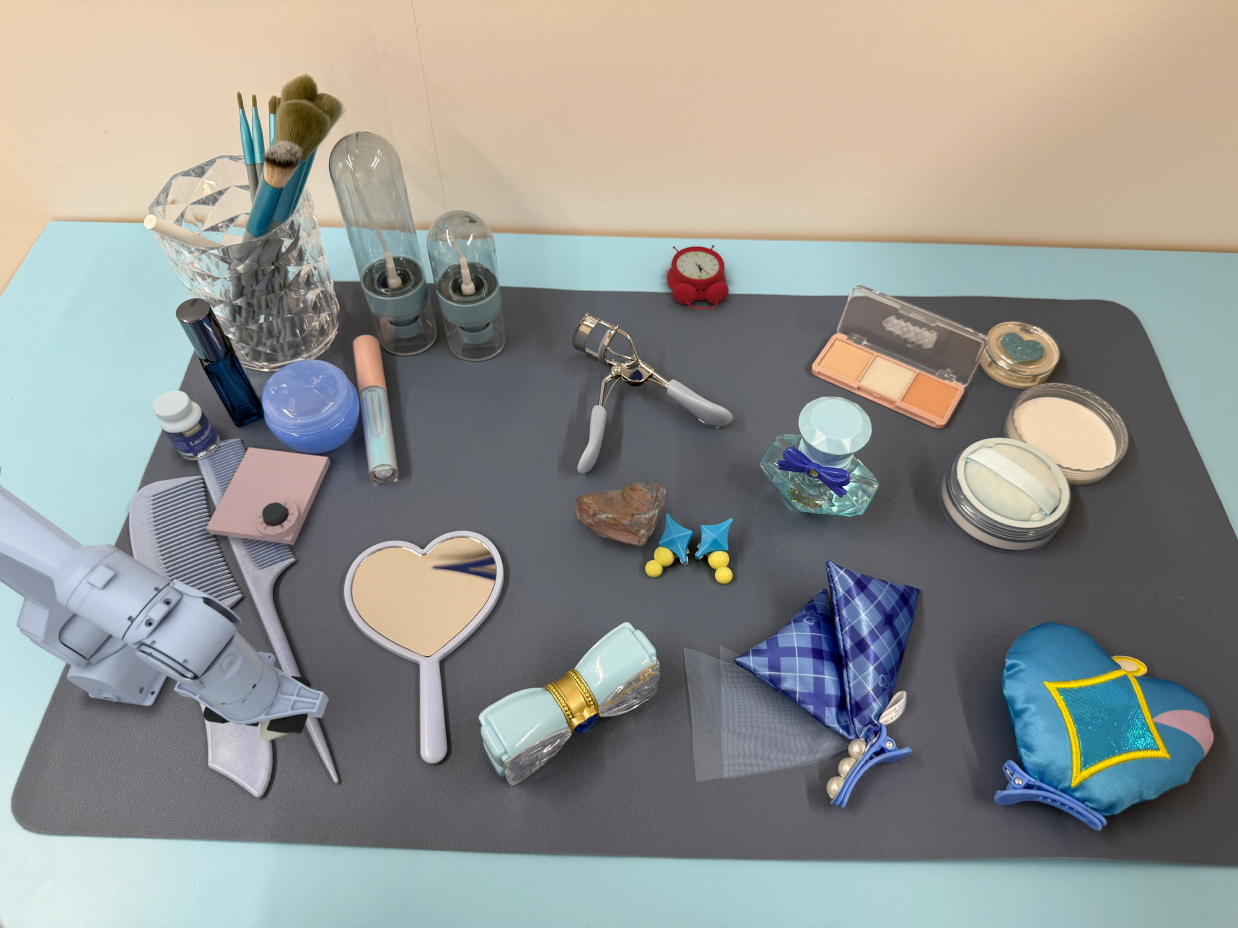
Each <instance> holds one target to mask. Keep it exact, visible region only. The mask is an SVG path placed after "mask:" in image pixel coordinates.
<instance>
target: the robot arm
mask: <svg viewBox="0 0 1238 928" xmlns="http://www.w3.org/2000/svg"><path fill="white" fill-rule="evenodd" d="M1 471H2V467H1V466H0V474H1ZM0 582H1V583H2V584H4V585H5V586H6V587H8V588H9V589H10V590H12V591H13V592H15V593H17V594H18V595H20V596H21V597H22V598H23V601H22V605H21V608H20V611H19V614H18V617H17V621H16V627H17V628H18V629H19V633H21V634H22V635H23V636H25V637H27V638H28V639H30V642H32V644H34V645H36V646H37V647H38V648H40V649H42V650H44V651H45V652H47V653H49V654H50V655H52V656H53V657H56V658H57V659H59V660H60V661H62V662H65V663H66V664H68V665H70V668H69V670H68V672H67V674H66V679H67V680H68V681H69V682H70V683H71V684H73V685H75V686H76V687H78V688H80V689H81V690H83V691H84V692H86V693H88V696H89V697H90V698H92V699H97V700H98V699H99V700H103V701H104V700H105V701H110V702H114V703H115V702H116V703H117V702H118V703H123V704H129V705H130V704H131V705H137V706H145V707H151V706H152V705H154V703H155V701H156V699H157V698H158V696H159V694H160V692H161V689H162V687H163V685H164V683H165V681H166V680H167V678H168V677H169V678H170V679H172V680H174V681H177V682H176V684H175V686H174V688H173V691H175V692H176V693H177V694H178V695H180V696H181V697H183V698H190V699H191V698H193V699H194V700H195V701H197V702H199V703H201V704H202V705H203V706H205V707H204V709H203V713H202V716H203V719H204V720H205V721H207V722H209V723H210V722H211V723H216V724H221V725H222V724H223V725H224V724H227V723H232V724H235V725H244V726H249V727H255V728H258V727H259V725H260V724H261V722H262V721H267V720H270V722H269V724H268V727H267V730H268V731H273V732H279V733H289V734H292V733H293V734H303V731H304V728H305V725H306V724H307V720H308V719H309V718H308V717H309V714H310V715H311V716H312V717H313V718H319V719H322V718H323V716H324V713H325V710H326V709H327V705H328V702H329V700H330V698H329V697H328V695H326V693H325V692H324V691H321V690H317V689H314V688H311V684H312V683H311V681H310V680H309V679H308V678H306V677H303V676H295V675H291V676H290V675H289V674H287V673H285V672H283V671H282V670H281V669H279V668H277V667H275V662H276V659H277V658H276V656H275V655H274V654H273V653H271V652H265V651H256V649H255V648H254V647H253V646H252V645H251V644H250V643H249V642H248V641H247V640H246V638H244V636H242V635H241V634H240V632H238V628H237V626H236V625H241V624H242V623H243V621H242V619H241V618H240V617H239V616H238V615H237V613H236V612H234V611H233V610H232V609H231V608H230V607H228V605H226V604H225V603H224V602H222V601H221V600H219V599H217V598H216V597H214V596H212V595H211V594H209V593H206V592H205V591H202V590H200V589H197V588H195V587H193V586H190V585H188V584H186V583H184V582H183V581H181V580H178V579H176V578H174V579H173V580H171V579H169V578H167V577H165V576H163V574H160V573H159V572H158V571H156V570H154V569H153V568H151V567H149V566H147V565H146V564H144V563H142V562H141V561H139V560H138V559H136V558H134V557H133V556H131V555H129V554H128V553H127V552H124V551H123V550H121V549H119V548H118V547H117V546H115V545H113V544H105V543H104V544H94V545H93V544H92V545H84V544H82V543H81V542H80V541H78V540H76V539H75V538H74V537H72V536H71V535H70V534H68V533H67V532H65V531H64V530H63V529H61V528H60V527H59V526H57V525H56V524H55V523H53V521H51V520H50V519H48V518H47V517H46V516H43V514H41V513H40V512H38V511H37V510H36V509H34V508H33V507H31V506H30V505H29V504H28V503H26V502H25V501H23V500H22V499H20V498H19V497H18V496H17V495H15V494H14V493H12V492H11V491H10V490H8V489H7V488H6V487H4V486H3V485H2V484H0ZM234 624H235V625H234Z"/></svg>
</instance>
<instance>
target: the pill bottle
mask: <svg viewBox="0 0 1238 928" xmlns="http://www.w3.org/2000/svg"><path fill="white" fill-rule="evenodd" d="M152 411H153V412H154V414H155V416H156V418H157V422H158V425H159V427H160V429H161V430H162V431H163V433H164V434H165V436H166V437H167V438H168V440H169V441H170V442H171V444H172V445H173V447H174V448H175V449H176V451H177V452H178V454H179V455H180V456H181V457H182V458H184V459H186V460H188V461H200V460H204V459H206V458H209V457H210V456H212V455H213V454H214V453H215V452H216V451H217V450H218V448H219V445H220V435H219V434H218V433H217V431H216V430H215V428H214V426H213V425H212V423H211V421H210V420H209V418H208V417H207V416H206V414H205V412H204V411H203V409H202V408H201V406H200V405H199V404H198V403H196V402H195V401H193V400H191V398H190V397H189V395H188V394H187V393H186V392H184V391H182V390H170V391H165V392H163V393H161V394H160V395H158V396H157V397H156V398H155V400H154V401H153V404H152ZM214 445H216V446H215V447H214V448H213V449H212V450H211V451H210V452H209V453H207V454H205V455H203V456H200V457H201V459H200V458H199V457H197V456H198V454H200V453H201V452H204V451H208V450H209V449H210V448H211V447H212V446H214ZM202 457H203V458H204V459H203V458H202Z"/></svg>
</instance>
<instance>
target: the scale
mask: <svg viewBox="0 0 1238 928" xmlns="http://www.w3.org/2000/svg"><path fill="white" fill-rule="evenodd" d="M330 465H331V461H330V458H329V457H328V456H323V455H322V456H321V455H314V454H307V453H297V452H291V451H290V452H288V451H282V450H273V449H265V448H258V447H250V446H249V447H248V448H247V450H246V452H245V454H244V456H243V458H242V460H241V462H240V463H239V465H238V467H237V469H236V470H235V473H234V475H233V476H232V479H230V482H229V484H228V486H227V487H226V490H225V491H224V493H223V495H222V497H221V499H220V501H219V503H218V505H217V507H216V508H215V511H214V512H213V514H212V516H211V518H210V519H209V521H208V523H207V526H206V527H205V530H206V531H207V532H208V533H209V534H211V535H215V536H216V535H217V536H225V537H231V538H239V539H240V538H241V539H246V540H247V539H248V540H255V541H261V542H269V543H277V544H284V545H291V546H293V545H295V543H296V541H297V538H298V536H299V534H300V532H301V529H302V527H303V526H304V523H305V521H306V519H307V516H308V514H309V512H310V509H311V507H312V505H313V503H314V501H315V498H316V496H317V494H318V491H319V489H320V487H321V486H322V483H323V480H324V479H325V476H326V474H327V471H328V469H329V467H330ZM274 502H277V503H280V504H282V505H283V507H284V508H285V510H286V511H287V518H286V520H285V521H284V522H283V523H282V524H280V525H276V526H272V525H269V524H268V523H267V522H266V520H265V519H264V517H263V516H262V511H263V509H264V508H265V507H266V506H267V505H268V504H270V503H274Z"/></svg>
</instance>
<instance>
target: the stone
mask: <svg viewBox="0 0 1238 928" xmlns="http://www.w3.org/2000/svg"><path fill="white" fill-rule="evenodd" d="M667 498H668V488H667V486H665V485H664V484H662V483H659V482H655V481H652V482H651V481H646V480H645V481H636V482H635V481H633V482H632V483H630V484H627V485H626V486H624V489H607V490H606V489H605V490H597V491H591V492H586V493H583V494H580V495H578V496H577V497H576V499H575V506H574V507H573V512H574V515H575V517H576V518H577V520H578V521H580V523H582V524H583V525H584V526H586V527H587V528H589V529H590V530H591V531H592V532H593V533H596V535H597V536H599V537H601V538H604V539H609V540H612V541H616V542H621V543H625V544H629V545H633V546H637V547H643V546H645V545H646V543H647V542H648V540H649V538H650V537H651V536H652V534H653V532H654V531H655V530H656V527H657V525H658V523H659V521H660V518H661V517H662V513H663V510H664V509H665V504H666V502H667Z"/></svg>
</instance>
